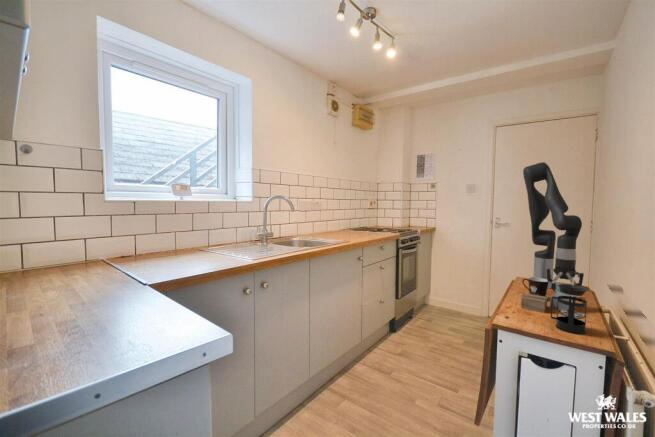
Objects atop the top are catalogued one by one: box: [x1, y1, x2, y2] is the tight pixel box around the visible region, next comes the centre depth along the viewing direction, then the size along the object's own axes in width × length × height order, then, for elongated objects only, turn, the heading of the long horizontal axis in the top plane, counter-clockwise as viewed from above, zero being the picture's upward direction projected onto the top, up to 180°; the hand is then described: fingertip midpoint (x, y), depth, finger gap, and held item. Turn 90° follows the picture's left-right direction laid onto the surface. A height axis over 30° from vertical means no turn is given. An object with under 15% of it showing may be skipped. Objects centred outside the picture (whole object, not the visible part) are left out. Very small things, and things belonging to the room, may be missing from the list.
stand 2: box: [549, 292, 577, 311], centre depth 142 cm, size 9×9×5 cm
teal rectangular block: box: [555, 281, 572, 300], centre depth 142 cm, size 5×7×6 cm
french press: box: [550, 271, 589, 335], centre depth 118 cm, size 12×9×23 cm
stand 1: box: [520, 292, 549, 313], centre depth 142 cm, size 9×9×5 cm
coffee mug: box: [521, 276, 549, 297], centre depth 156 cm, size 12×9×10 cm
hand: (563, 292), depth 142 cm, fingers open, 6 cm apart
